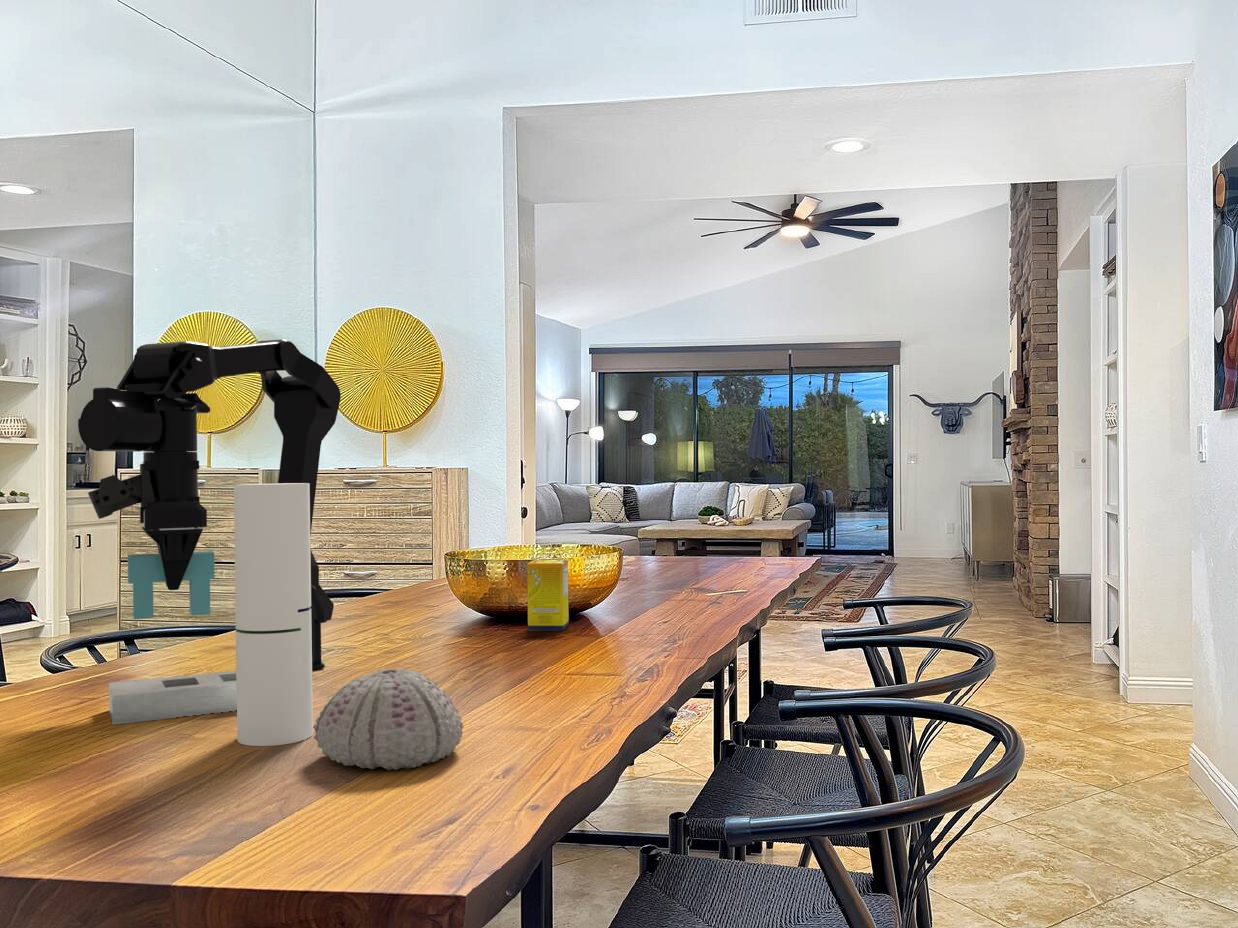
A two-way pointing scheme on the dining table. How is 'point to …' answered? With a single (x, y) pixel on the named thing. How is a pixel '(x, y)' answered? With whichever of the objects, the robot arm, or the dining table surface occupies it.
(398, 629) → the dining table surface
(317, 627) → the robot arm
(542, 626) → the supplement box
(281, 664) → the cylindrical container
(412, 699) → the sea urchin shell
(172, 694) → the rail
